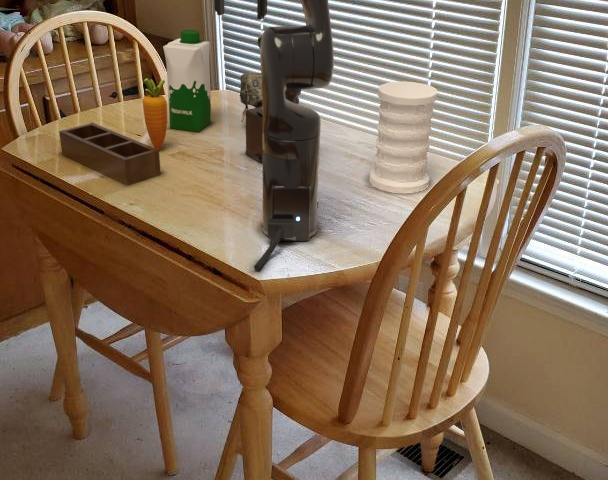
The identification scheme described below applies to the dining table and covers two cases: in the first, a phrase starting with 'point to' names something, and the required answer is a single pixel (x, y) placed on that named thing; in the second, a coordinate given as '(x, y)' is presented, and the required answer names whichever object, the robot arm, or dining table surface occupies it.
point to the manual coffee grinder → (261, 127)
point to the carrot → (155, 113)
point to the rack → (110, 153)
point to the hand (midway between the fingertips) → (240, 16)
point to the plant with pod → (251, 88)
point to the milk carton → (188, 82)
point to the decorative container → (403, 137)
